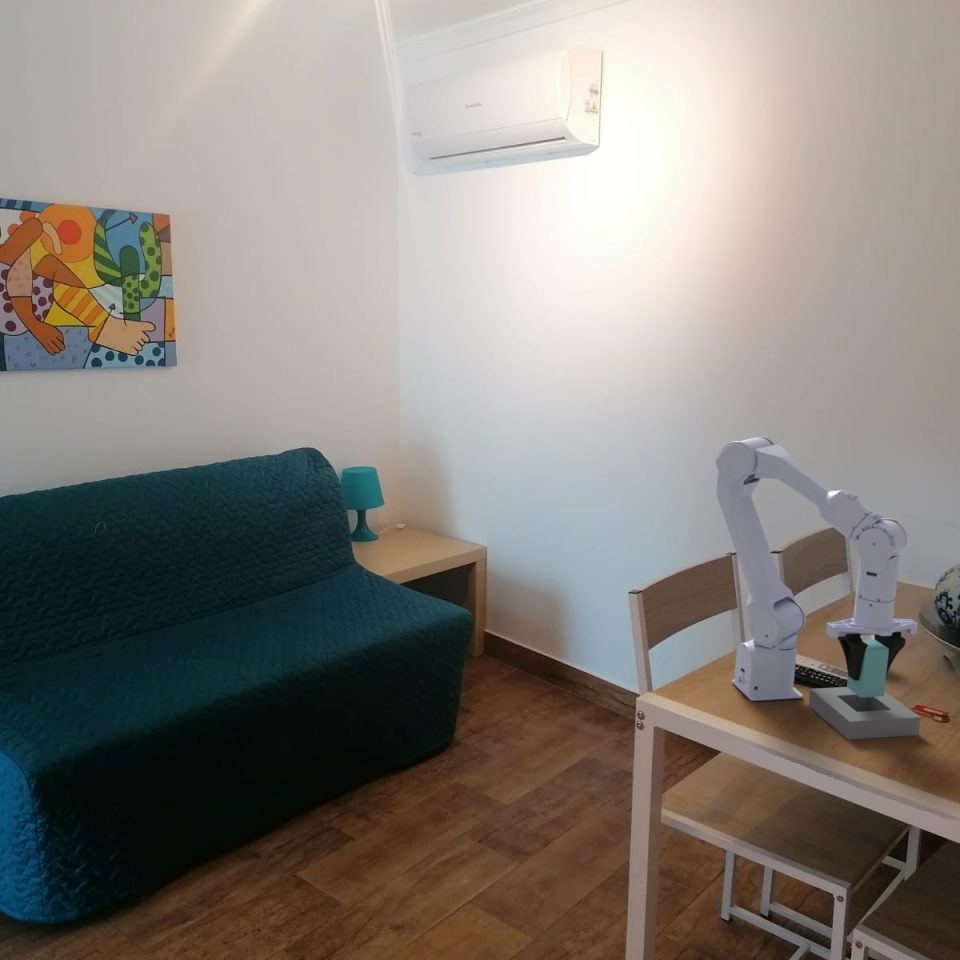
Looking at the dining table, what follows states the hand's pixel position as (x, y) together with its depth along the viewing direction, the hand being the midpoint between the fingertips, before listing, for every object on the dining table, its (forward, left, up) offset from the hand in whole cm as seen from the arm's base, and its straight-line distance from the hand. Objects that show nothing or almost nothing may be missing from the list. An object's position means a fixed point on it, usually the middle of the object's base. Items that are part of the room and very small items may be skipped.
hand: (866, 677), depth 149 cm
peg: (0, 0, -2) cm, 2 cm away
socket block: (0, 0, -7) cm, 7 cm away
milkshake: (+14, +23, -8) cm, 28 cm away
